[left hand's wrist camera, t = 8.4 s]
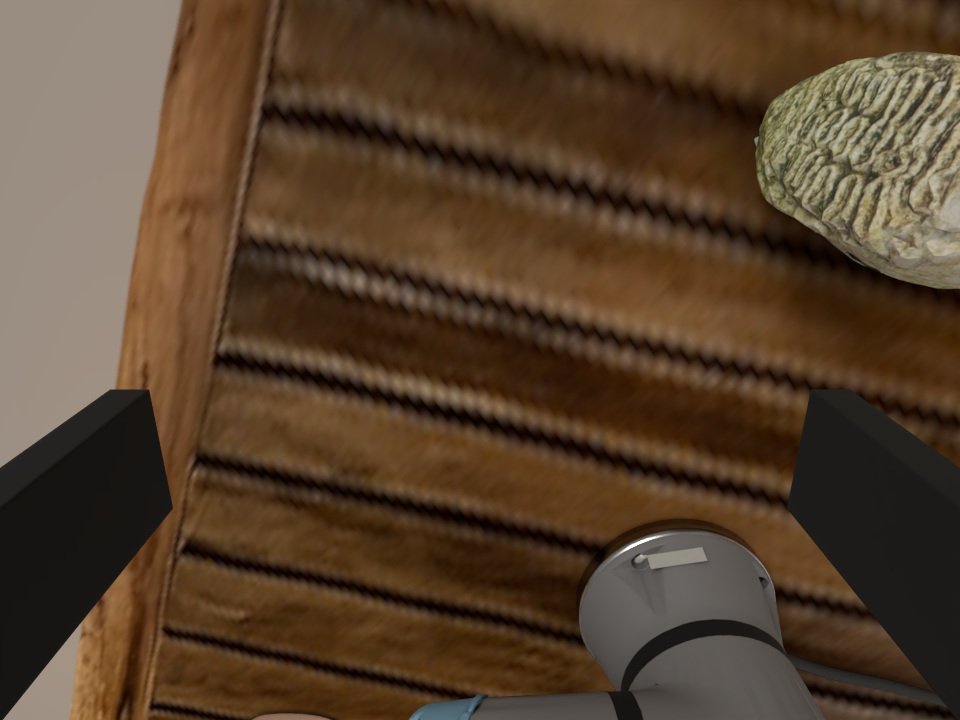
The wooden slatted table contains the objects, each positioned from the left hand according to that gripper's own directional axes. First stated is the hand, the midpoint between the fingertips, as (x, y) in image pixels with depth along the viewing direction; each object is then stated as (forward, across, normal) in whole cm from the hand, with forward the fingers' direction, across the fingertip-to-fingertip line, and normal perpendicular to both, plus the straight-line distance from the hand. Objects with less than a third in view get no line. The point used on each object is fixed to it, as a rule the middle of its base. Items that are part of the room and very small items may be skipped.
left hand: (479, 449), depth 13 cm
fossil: (+30, +24, +3) cm, 38 cm away
